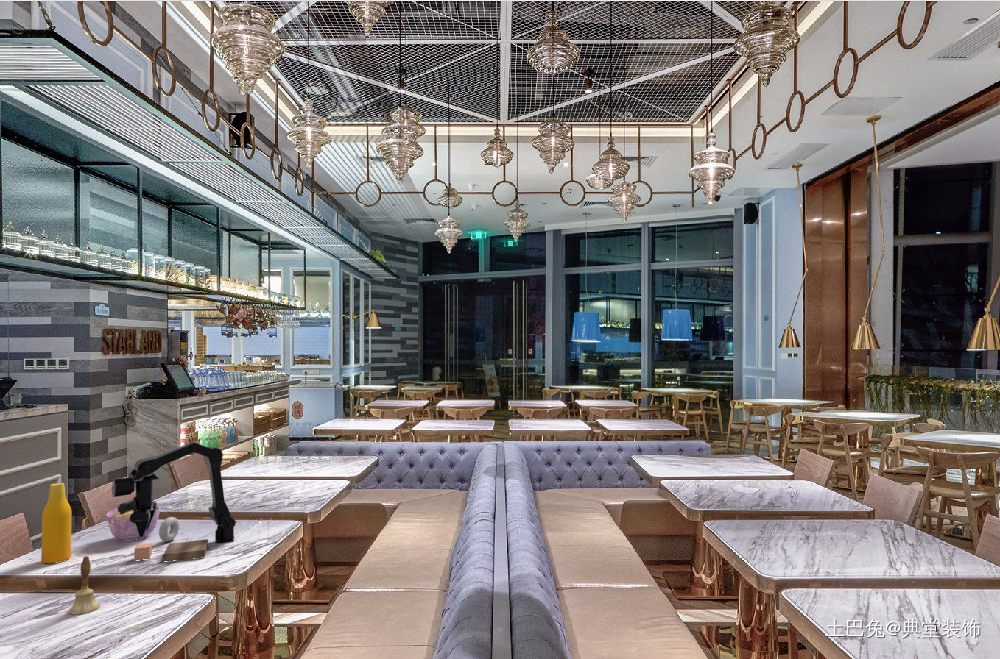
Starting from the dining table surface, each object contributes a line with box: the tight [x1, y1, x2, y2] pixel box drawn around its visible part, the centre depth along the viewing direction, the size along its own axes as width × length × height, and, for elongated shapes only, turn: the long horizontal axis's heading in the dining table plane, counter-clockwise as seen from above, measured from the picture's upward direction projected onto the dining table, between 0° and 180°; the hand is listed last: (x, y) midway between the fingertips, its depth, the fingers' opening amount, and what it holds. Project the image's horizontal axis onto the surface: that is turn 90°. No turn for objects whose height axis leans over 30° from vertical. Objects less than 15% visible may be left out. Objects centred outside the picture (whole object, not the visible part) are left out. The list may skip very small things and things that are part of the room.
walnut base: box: [162, 538, 209, 563], centre depth 234 cm, size 14×14×3 cm
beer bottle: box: [40, 482, 73, 564], centre depth 229 cm, size 9×9×29 cm
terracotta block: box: [134, 542, 153, 561], centre depth 230 cm, size 5×5×5 cm
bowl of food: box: [106, 505, 161, 542], centre depth 256 cm, size 20×20×12 cm
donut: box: [158, 516, 180, 543], centre depth 251 cm, size 10×4×10 cm, turn 171°
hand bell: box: [67, 555, 101, 616], centre depth 185 cm, size 8×8×16 cm
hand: (143, 533), depth 230 cm, fingers open, 9 cm apart
